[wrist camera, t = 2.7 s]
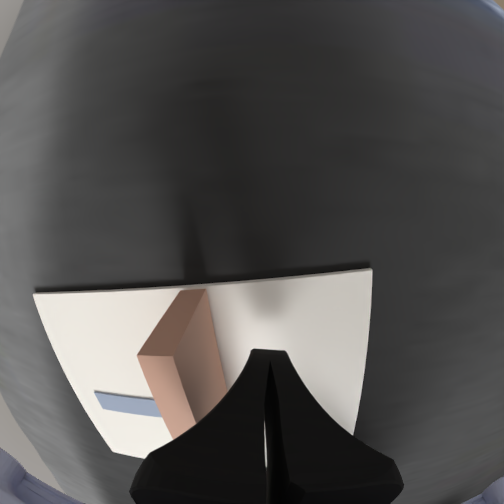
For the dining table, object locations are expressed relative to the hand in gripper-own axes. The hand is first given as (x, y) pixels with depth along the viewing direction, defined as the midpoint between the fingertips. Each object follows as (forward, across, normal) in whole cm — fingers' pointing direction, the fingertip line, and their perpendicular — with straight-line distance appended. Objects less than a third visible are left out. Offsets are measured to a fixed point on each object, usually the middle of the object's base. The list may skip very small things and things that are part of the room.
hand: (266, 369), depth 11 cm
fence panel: (+2, +3, +2) cm, 4 cm away
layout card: (+3, +4, +6) cm, 7 cm away
